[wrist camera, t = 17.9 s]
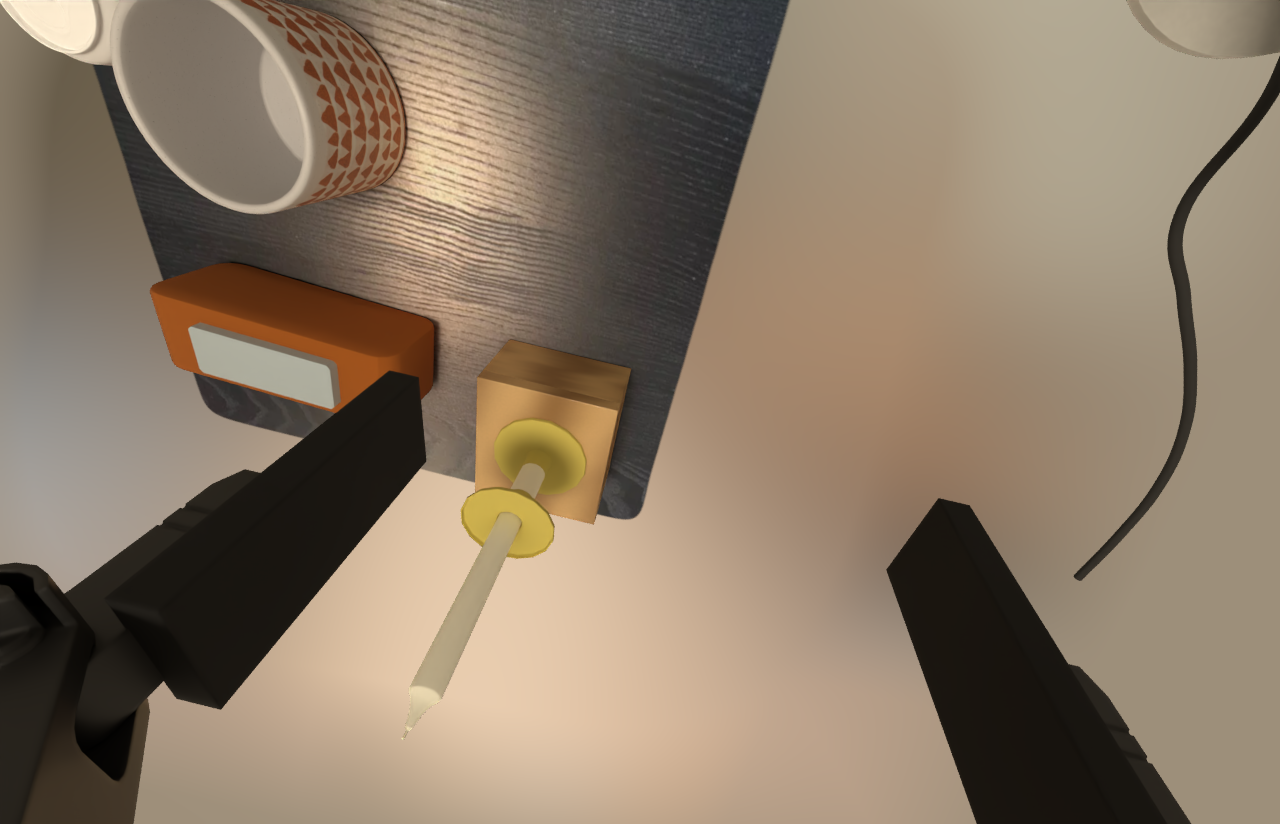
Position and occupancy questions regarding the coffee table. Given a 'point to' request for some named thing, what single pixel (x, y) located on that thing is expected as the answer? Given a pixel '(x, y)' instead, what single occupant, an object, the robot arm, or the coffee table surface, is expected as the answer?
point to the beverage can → (68, 25)
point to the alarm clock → (288, 335)
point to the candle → (500, 538)
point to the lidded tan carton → (552, 415)
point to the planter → (257, 100)
